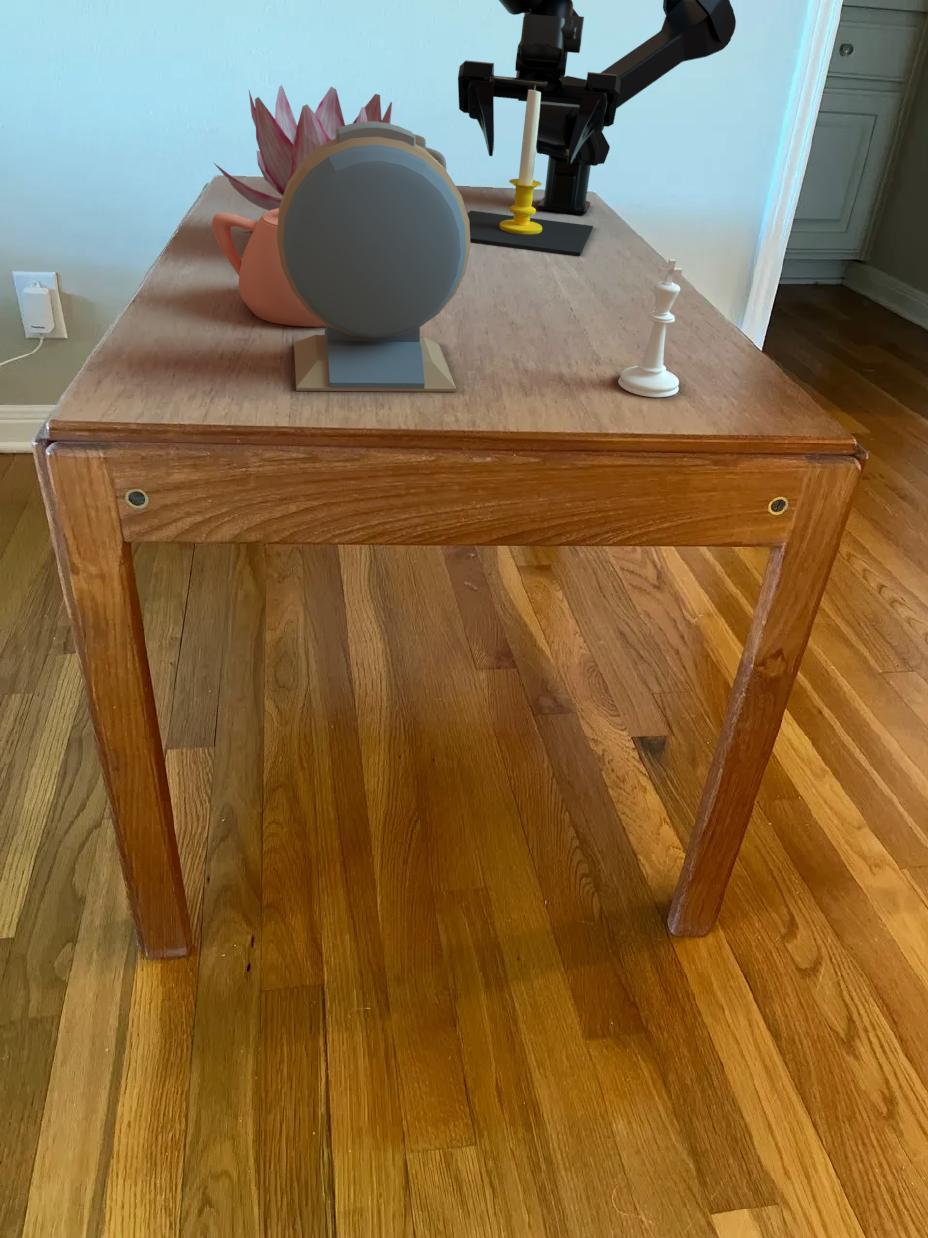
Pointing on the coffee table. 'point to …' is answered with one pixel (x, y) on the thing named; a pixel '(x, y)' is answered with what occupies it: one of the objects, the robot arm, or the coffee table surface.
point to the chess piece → (656, 344)
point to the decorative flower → (295, 139)
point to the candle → (526, 174)
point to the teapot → (262, 270)
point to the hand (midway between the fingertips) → (530, 157)
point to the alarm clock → (372, 259)
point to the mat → (549, 239)
